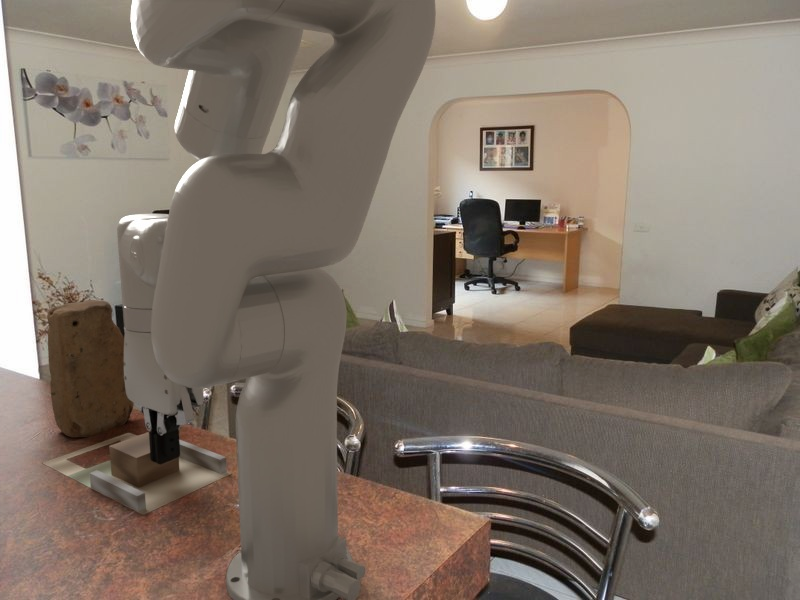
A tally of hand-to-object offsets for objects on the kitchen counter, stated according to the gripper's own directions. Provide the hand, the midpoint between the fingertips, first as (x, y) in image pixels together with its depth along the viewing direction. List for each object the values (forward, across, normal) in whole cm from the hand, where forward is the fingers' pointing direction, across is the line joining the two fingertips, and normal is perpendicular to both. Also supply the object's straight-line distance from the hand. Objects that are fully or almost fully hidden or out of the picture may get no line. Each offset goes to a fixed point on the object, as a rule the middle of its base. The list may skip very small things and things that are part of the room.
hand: (165, 458), depth 84 cm
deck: (+4, +7, 0) cm, 8 cm away
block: (+5, +26, -6) cm, 27 cm away
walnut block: (+3, +4, 0) cm, 5 cm away
